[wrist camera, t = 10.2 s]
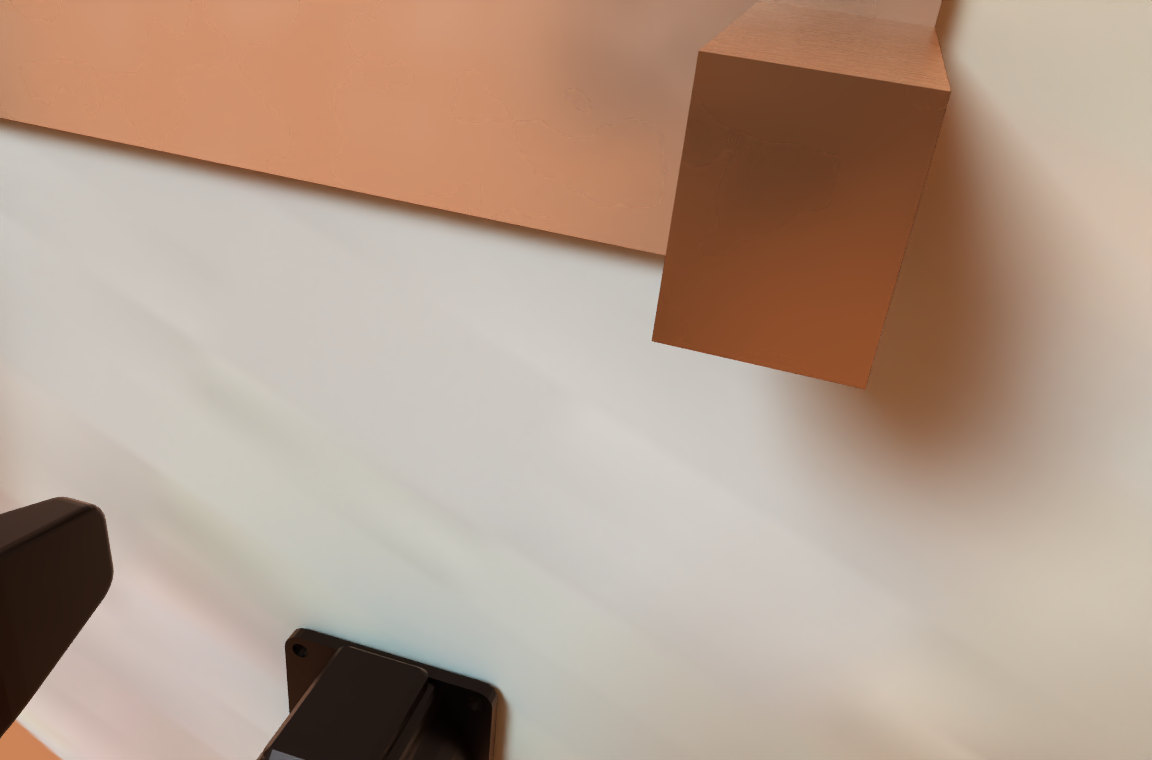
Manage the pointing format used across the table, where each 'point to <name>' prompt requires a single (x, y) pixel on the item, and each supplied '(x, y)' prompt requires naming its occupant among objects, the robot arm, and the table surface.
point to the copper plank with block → (554, 130)
